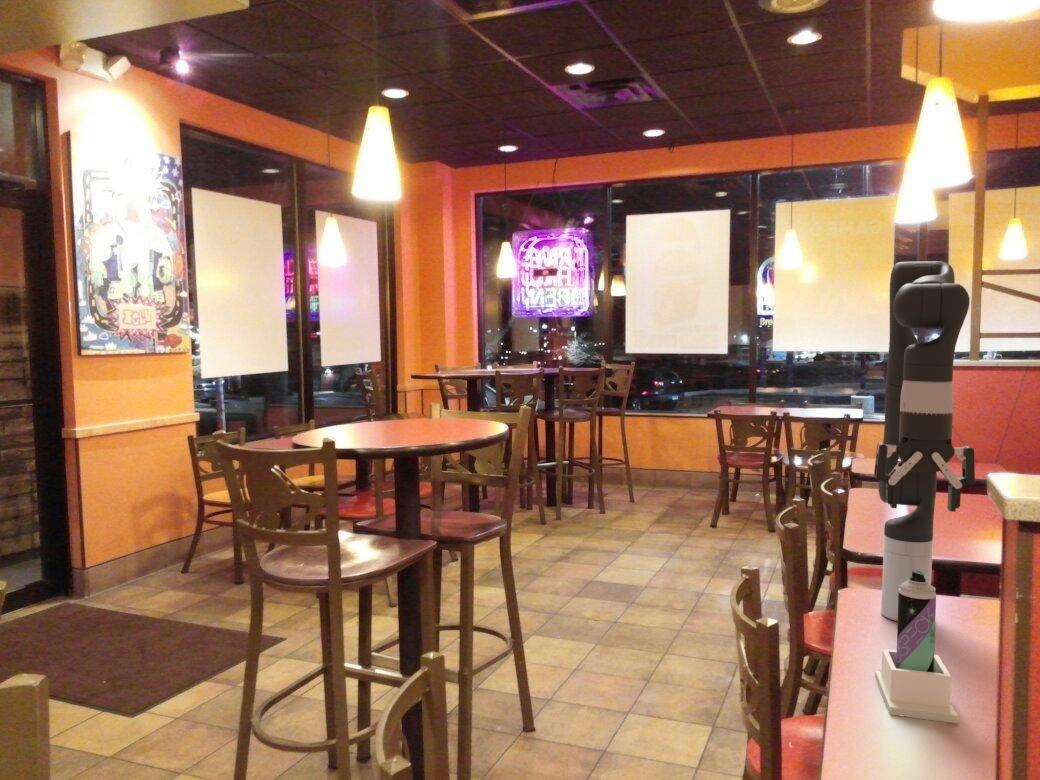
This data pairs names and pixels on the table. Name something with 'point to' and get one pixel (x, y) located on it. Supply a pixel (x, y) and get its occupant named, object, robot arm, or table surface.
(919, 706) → the can holder
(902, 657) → the spray can
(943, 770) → the table surface
